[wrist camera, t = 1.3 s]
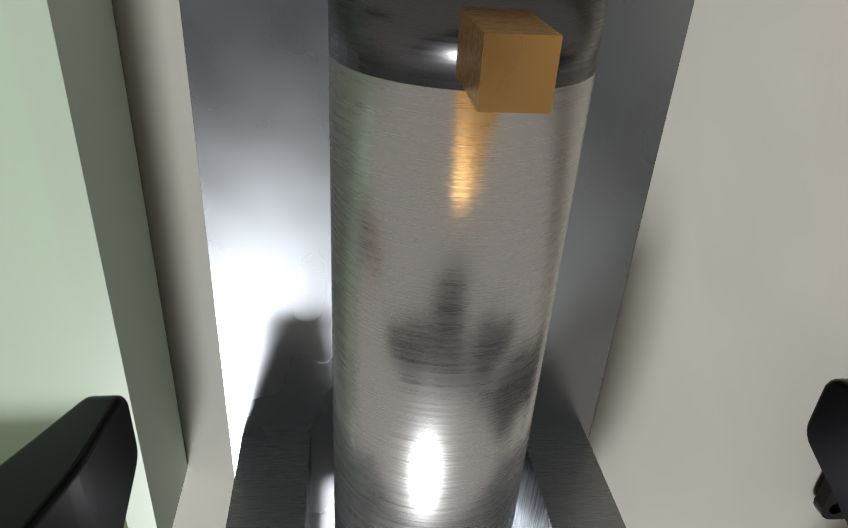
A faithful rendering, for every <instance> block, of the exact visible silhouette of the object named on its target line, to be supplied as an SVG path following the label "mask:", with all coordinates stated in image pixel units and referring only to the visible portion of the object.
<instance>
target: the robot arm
mask: <svg viewBox="0 0 848 528" xmlns="http://www.w3.org/2000/svg"><path fill="white" fill-rule="evenodd" d="M807 437H808V441H809V444H810V446H811V448H812V450H813V452H814V454H815V457H816V459H817V461H818V463H819V465H820V467H821V469H822V471H823V473H824V476H825V478H824V480H823V482H822V484H821V486H820V488H819V490H818V492H817V494H816V496H815V498H814V502H813V503H814V506H815V507H816V509H817V510H818V511H819V513H820V514H821V515H822V517H824V518H826V519H845V520H846V522H847V524H848V379H834V380H831V381H830V382H829V383H827V384H826V386H825V387H824V389H823V391H822V394H821V396H820V398H819V400H818V402H817V405H816V407H815V409H814V411H813V413H812V416H811V418H810V420H809V422H808V426H807ZM137 458H138V450H137V442H136V438H135V433H134V428H133V423H132V419H131V414H130V409H129V405H128V402H127V401H126V399H125V398H124V397H122V396H120V395H105V396H89V397H87V398H85V399H83V400H82V401H80V402H79V403H78V404H77V405H75V406H74V407H73V408H72V409H70V410H69V411H68V412H66V413H65V414H64V415H63V416H61V417H60V418H59V419H58V420H56V421H55V422H54V423H52V424H51V425H50V426H49V427H47V428H46V429H45V430H44V431H42V432H41V433H40V434H38V435H37V436H36V437H35V438H33V439H32V440H31V441H30V442H28V443H27V444H26V445H24V446H23V447H22V448H21V449H19V450H18V451H17V452H16V453H14V454H13V455H12V456H10V457H9V458H8V459H7V460H5V461H4V462H3V463H2V464H0V528H124V524H125V519H126V514H127V510H128V505H129V500H130V495H131V490H132V486H133V481H134V476H135V471H136V466H137Z"/></svg>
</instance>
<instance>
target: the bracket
mask: <svg viewBox="0 0 848 528" xmlns="http://www.w3.org/2000/svg"><path fill="white" fill-rule="evenodd" d="M179 3H180V11H181V20H182V28H183V37H184V46H185V54H186V63H187V71H188V80H189V88H190V97H191V106H192V114H193V123H194V131H195V140H196V149H197V157H198V166H199V174H200V183H201V192H202V200H203V209H204V217H205V226H206V235H207V243H208V252H209V260H210V269H211V278H212V286H213V295H214V303H215V312H216V320H217V329H218V338H219V346H220V355H221V363H222V372H223V381H224V389H225V398H226V406H227V415H228V424H229V432H230V441H231V449H232V458H233V467H234V475H235V479H234V484H233V490H232V496H231V501H230V507H229V512H228V518H227V524H226V528H335V518H334V440H333V362H332V285H331V207H330V129H329V51H328V0H179ZM693 4H694V0H609V1H608V6H607V12H606V17H605V23H604V28H603V34H602V39H601V45H600V50H599V56H598V61H597V66H596V72H595V77H594V83H593V88H592V94H591V99H590V105H589V110H588V116H587V121H586V127H585V132H584V138H583V143H582V149H581V154H580V159H579V165H578V170H577V176H576V181H575V187H574V192H573V198H572V203H571V209H570V214H569V220H568V225H567V231H566V236H565V242H564V247H563V253H562V258H561V263H560V269H559V274H558V280H557V285H556V291H555V296H554V302H553V307H552V313H551V318H550V324H549V329H548V335H547V340H546V346H545V351H544V357H543V362H542V367H541V373H540V378H539V384H538V389H537V395H536V400H535V406H534V411H533V417H532V422H531V428H530V433H529V439H528V444H527V450H526V455H525V460H524V466H523V471H522V477H521V482H520V488H519V493H518V499H517V504H516V510H515V515H514V521H513V526H512V528H626V527H625V524H624V522H623V520H622V517H621V515H620V513H619V510H618V508H617V506H616V503H615V501H614V499H613V496H612V494H611V492H610V490H609V487H608V485H607V483H606V480H605V478H604V476H603V473H602V471H601V469H600V466H599V464H598V462H597V459H596V457H595V455H594V453H593V450H592V448H591V446H590V443H589V441H588V437H589V433H590V429H591V425H592V421H593V416H594V412H595V408H596V404H597V400H598V396H599V392H600V388H601V383H602V379H603V375H604V371H605V367H606V363H607V359H608V355H609V350H610V346H611V342H612V338H613V334H614V330H615V326H616V322H617V318H618V313H619V309H620V305H621V301H622V297H623V293H624V289H625V285H626V280H627V276H628V272H629V268H630V264H631V260H632V256H633V252H634V247H635V243H636V239H637V235H638V231H639V227H640V223H641V219H642V214H643V210H644V206H645V202H646V198H647V194H648V190H649V186H650V181H651V177H652V173H653V169H654V165H655V161H656V157H657V153H658V148H659V144H660V140H661V136H662V132H663V128H664V124H665V120H666V115H667V111H668V107H669V103H670V99H671V95H672V91H673V87H674V82H675V78H676V74H677V70H678V66H679V62H680V58H681V54H682V50H683V45H684V41H685V37H686V33H687V29H688V25H689V21H690V17H691V12H692V8H693Z"/></svg>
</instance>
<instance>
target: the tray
mask: <svg viewBox="0 0 848 528" xmlns="http://www.w3.org/2000/svg"><path fill="white" fill-rule="evenodd" d="M105 395H120V396H122V397H124V398H125V399H126V401H127V402H128V405H129V409H130V414H131V419H132V423H133V428H134V433H135V438H136V442H137V450H138V458H137V466H136V471H135V476H134V481H133V486H132V490H131V495H130V500H129V505H128V510H127V514H126V519H125V524H124V528H172V526H173V522H174V518H175V514H176V510H177V506H178V503H179V499H180V495H181V491H182V487H183V483H184V480H185V476H186V472H187V468H188V466H187V460H186V454H185V448H184V441H183V435H182V429H181V423H180V417H179V411H178V405H177V399H176V393H175V386H174V380H173V374H172V368H171V362H170V356H169V350H168V344H167V338H166V332H165V325H164V319H163V313H162V307H161V301H160V295H159V289H158V283H157V277H156V270H155V264H154V258H153V252H152V246H151V240H150V234H149V228H148V222H147V215H146V209H145V203H144V197H143V191H142V185H141V179H140V173H139V167H138V161H137V154H136V148H135V142H134V136H133V130H132V124H131V118H130V112H129V106H128V99H127V93H126V87H125V81H124V75H123V69H122V63H121V57H120V51H119V44H118V38H117V32H116V26H115V20H114V14H113V8H112V2H111V0H0V464H2V463H3V462H4V461H5V460H7V459H8V458H9V457H10V456H12V455H13V454H14V453H16V452H17V451H18V450H19V449H21V448H22V447H23V446H24V445H26V444H27V443H28V442H30V441H31V440H32V439H33V438H35V437H36V436H37V435H38V434H40V433H41V432H42V431H44V430H45V429H46V428H47V427H49V426H50V425H51V424H52V423H54V422H55V421H56V420H58V419H59V418H60V417H61V416H63V415H64V414H65V413H66V412H68V411H69V410H70V409H72V408H73V407H74V406H75V405H77V404H78V403H79V402H80V401H82V400H83V399H85V398H87V397H89V396H105Z"/></svg>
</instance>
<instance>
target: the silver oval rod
mask: <svg viewBox="0 0 848 528" xmlns="http://www.w3.org/2000/svg"><path fill="white" fill-rule="evenodd" d="M608 1H609V0H328V51H329V129H330V207H331V285H332V362H333V440H334V518H335V528H512V526H513V521H514V515H515V510H516V504H517V499H518V493H519V488H520V482H521V477H522V471H523V466H524V460H525V455H526V450H527V444H528V439H529V433H530V428H531V422H532V417H533V411H534V406H535V400H536V395H537V389H538V384H539V378H540V373H541V367H542V362H543V357H544V351H545V346H546V340H547V335H548V329H549V324H550V318H551V313H552V307H553V302H554V296H555V291H556V285H557V280H558V274H559V269H560V263H561V258H562V253H563V247H564V242H565V236H566V231H567V225H568V220H569V214H570V209H571V203H572V198H573V192H574V187H575V181H576V176H577V170H578V165H579V159H580V154H581V149H582V143H583V138H584V132H585V127H586V121H587V116H588V110H589V105H590V99H591V94H592V88H593V83H594V77H595V72H596V66H597V61H598V56H599V50H600V45H601V39H602V34H603V28H604V23H605V17H606V12H607V6H608Z"/></svg>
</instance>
